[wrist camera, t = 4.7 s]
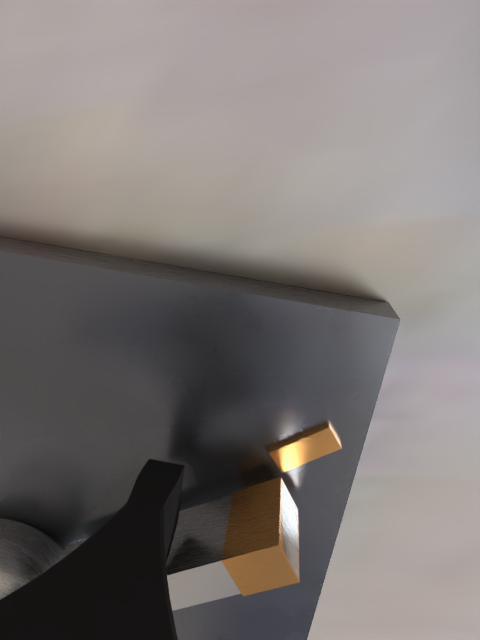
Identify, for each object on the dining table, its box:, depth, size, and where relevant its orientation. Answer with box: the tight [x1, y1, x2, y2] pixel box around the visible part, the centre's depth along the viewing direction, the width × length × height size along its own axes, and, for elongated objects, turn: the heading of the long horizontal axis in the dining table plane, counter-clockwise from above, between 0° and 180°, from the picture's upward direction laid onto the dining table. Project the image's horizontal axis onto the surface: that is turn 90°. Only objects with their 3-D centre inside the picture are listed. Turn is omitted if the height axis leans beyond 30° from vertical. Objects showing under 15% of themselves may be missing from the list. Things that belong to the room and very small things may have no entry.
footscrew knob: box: [0, 477, 300, 611], centre depth 14 cm, size 14×5×3 cm, turn 116°
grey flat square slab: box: [0, 237, 400, 640], centre depth 16 cm, size 20×20×3 cm
